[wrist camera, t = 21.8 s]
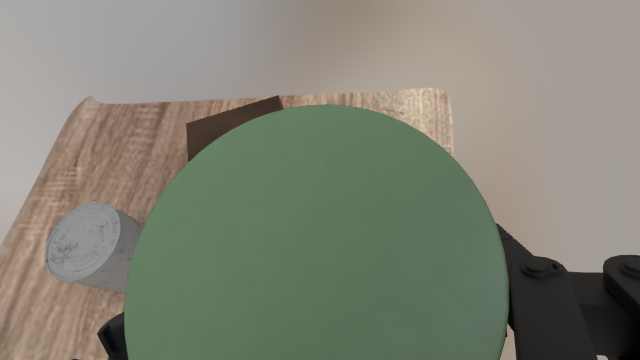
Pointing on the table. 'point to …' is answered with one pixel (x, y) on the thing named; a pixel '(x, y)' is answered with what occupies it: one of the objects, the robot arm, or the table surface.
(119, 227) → the grey concrete cylinder
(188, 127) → the cabinet
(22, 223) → the table surface
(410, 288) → the tin
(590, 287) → the robot arm
